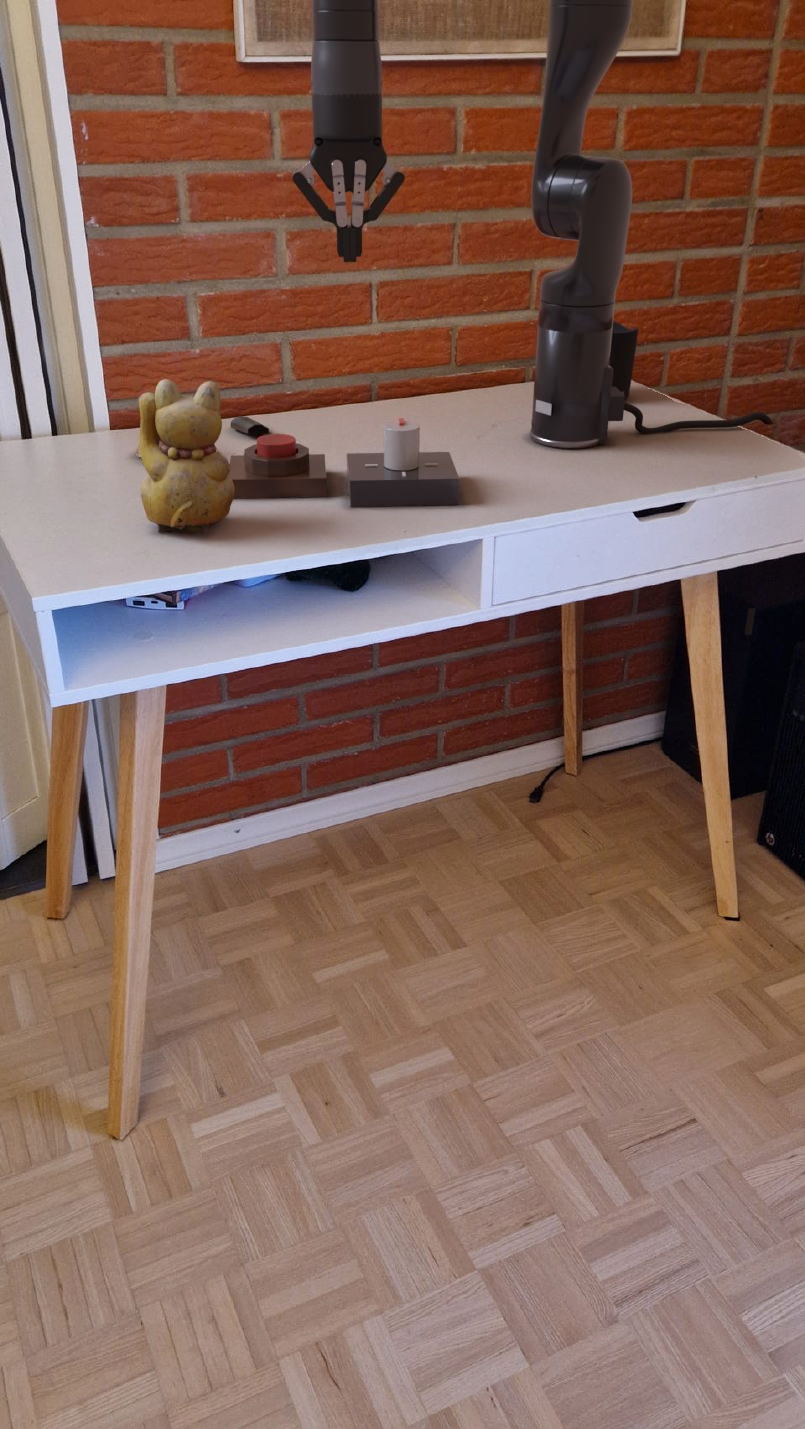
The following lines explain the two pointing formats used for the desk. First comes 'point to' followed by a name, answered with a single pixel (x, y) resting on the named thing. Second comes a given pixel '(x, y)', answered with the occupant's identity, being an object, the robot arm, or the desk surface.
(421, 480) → the panel
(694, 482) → the desk surface
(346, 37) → the robot arm
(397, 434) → the knob
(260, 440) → the button
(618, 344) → the dark upright prism
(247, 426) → the block
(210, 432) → the decorative figurine
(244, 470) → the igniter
